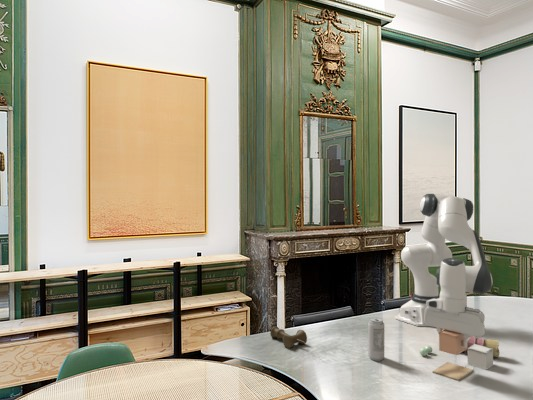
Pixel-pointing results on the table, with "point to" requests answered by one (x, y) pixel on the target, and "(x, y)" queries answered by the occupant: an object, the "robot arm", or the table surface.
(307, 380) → the table surface
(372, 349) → the energy drink can
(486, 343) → the scroll
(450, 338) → the pink paneled box
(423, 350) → the marble
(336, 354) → the table surface
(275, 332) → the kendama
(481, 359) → the off-white bevelled cube
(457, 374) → the cork pad
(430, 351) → the marble
